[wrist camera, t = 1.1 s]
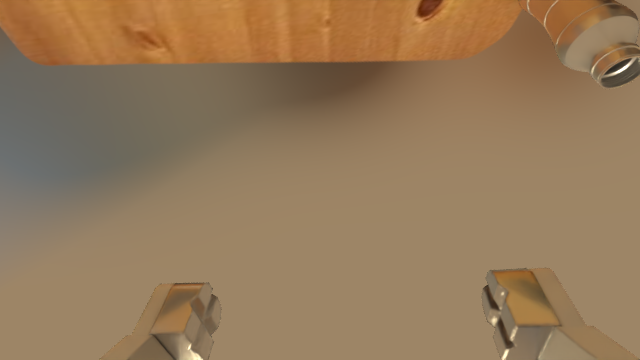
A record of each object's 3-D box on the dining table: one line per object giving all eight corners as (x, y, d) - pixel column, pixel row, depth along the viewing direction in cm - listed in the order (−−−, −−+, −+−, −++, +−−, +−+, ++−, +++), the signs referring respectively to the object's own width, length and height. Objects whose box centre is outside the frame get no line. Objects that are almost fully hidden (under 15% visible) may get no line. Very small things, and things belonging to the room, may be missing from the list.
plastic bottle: (503, -24, 43) (570, 74, 31) (562, -69, 39) (665, 24, 27) (522, 12, 46) (588, 111, 35) (578, -26, 42) (675, 72, 31)
